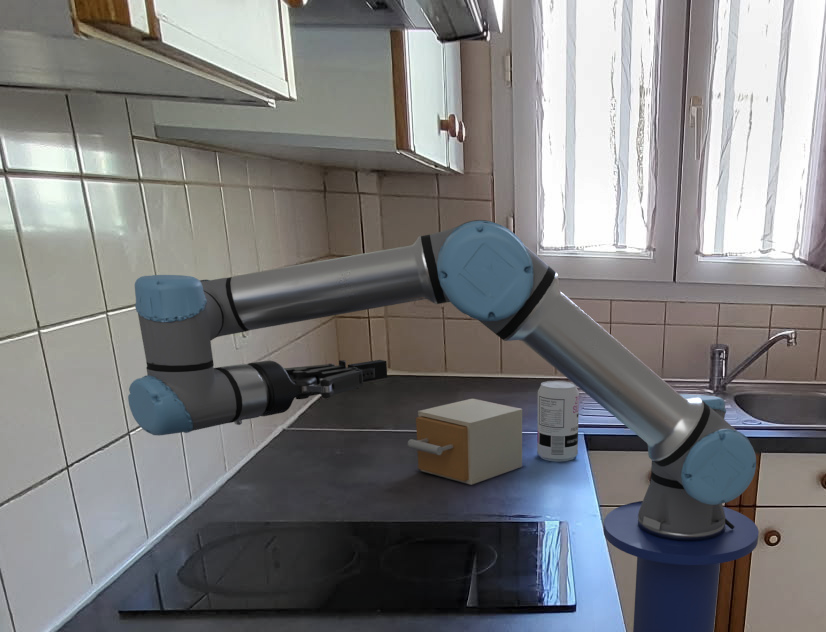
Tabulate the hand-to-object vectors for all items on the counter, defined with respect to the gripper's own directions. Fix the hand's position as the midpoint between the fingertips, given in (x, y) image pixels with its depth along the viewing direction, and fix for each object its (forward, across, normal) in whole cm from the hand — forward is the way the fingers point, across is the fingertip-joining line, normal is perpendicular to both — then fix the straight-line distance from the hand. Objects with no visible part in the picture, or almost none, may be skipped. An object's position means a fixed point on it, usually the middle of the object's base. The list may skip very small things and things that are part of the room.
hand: (383, 368), depth 135 cm
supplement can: (+38, +7, -22) cm, 44 cm away
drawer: (+16, 0, -21) cm, 27 cm away
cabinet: (+20, 0, -22) cm, 30 cm away
